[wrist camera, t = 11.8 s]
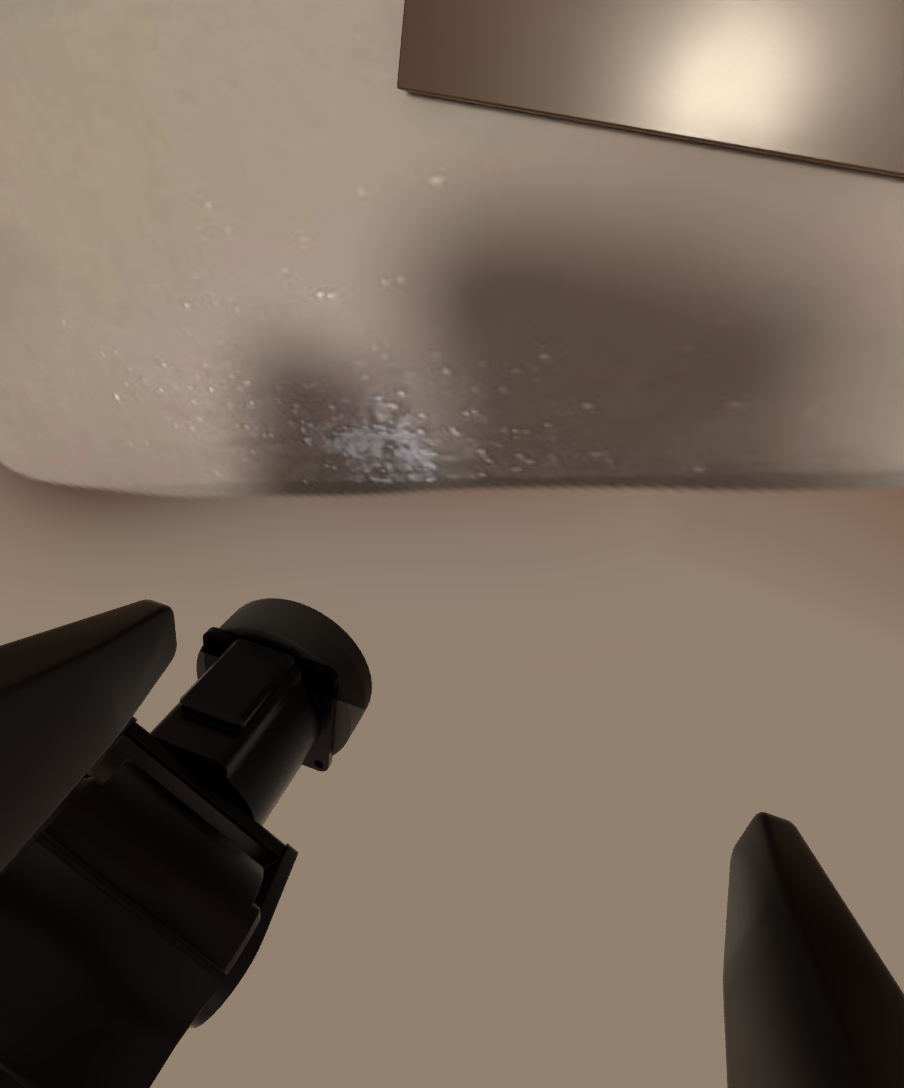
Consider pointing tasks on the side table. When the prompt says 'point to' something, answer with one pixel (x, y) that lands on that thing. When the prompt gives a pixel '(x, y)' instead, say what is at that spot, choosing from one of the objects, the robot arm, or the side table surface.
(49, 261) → the side table surface
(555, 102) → the walnut board
